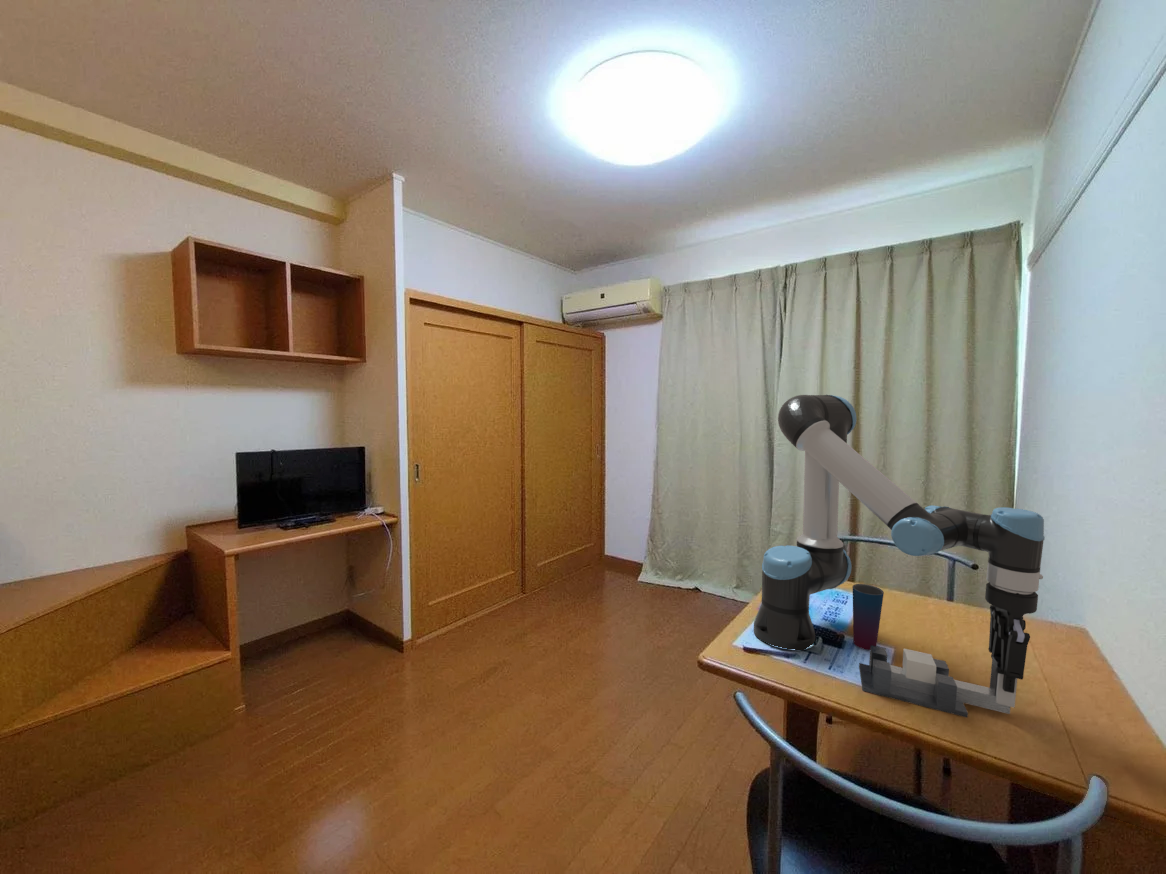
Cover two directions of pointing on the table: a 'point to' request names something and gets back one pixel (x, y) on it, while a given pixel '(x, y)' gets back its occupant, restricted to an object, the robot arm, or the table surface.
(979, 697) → the sliding bolt
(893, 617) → the table surface
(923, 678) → the block
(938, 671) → the rail
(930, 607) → the table surface
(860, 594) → the cup
